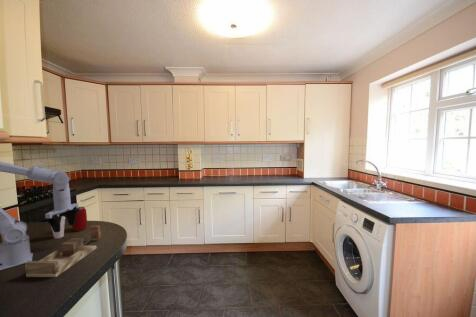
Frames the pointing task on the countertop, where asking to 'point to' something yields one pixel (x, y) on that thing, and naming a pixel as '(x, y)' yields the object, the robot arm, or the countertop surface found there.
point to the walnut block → (79, 242)
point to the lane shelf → (55, 263)
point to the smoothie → (61, 233)
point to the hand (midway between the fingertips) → (64, 228)
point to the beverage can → (80, 220)
